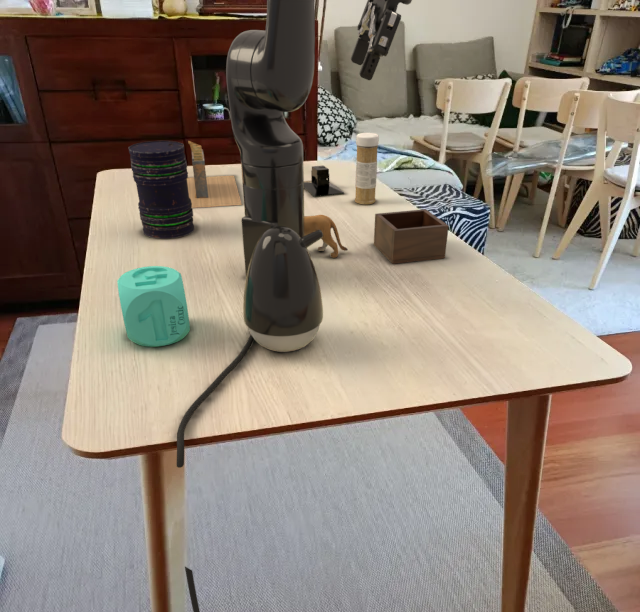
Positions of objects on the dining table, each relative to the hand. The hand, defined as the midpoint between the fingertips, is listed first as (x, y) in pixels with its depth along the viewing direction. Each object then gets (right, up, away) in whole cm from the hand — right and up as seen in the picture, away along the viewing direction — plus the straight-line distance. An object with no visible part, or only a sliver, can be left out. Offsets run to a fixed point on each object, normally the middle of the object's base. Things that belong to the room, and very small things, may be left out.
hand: (360, 70), depth 105 cm
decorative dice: (-29, -49, -23) cm, 61 cm away
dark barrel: (-36, -24, +12) cm, 45 cm away
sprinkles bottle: (+3, -13, +26) cm, 29 cm away
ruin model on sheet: (-34, -8, +34) cm, 49 cm away
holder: (+9, -31, +2) cm, 32 cm away
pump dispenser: (-12, -51, -25) cm, 58 cm away
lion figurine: (-10, -32, +1) cm, 33 cm away
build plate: (-7, -7, +35) cm, 36 cm away
